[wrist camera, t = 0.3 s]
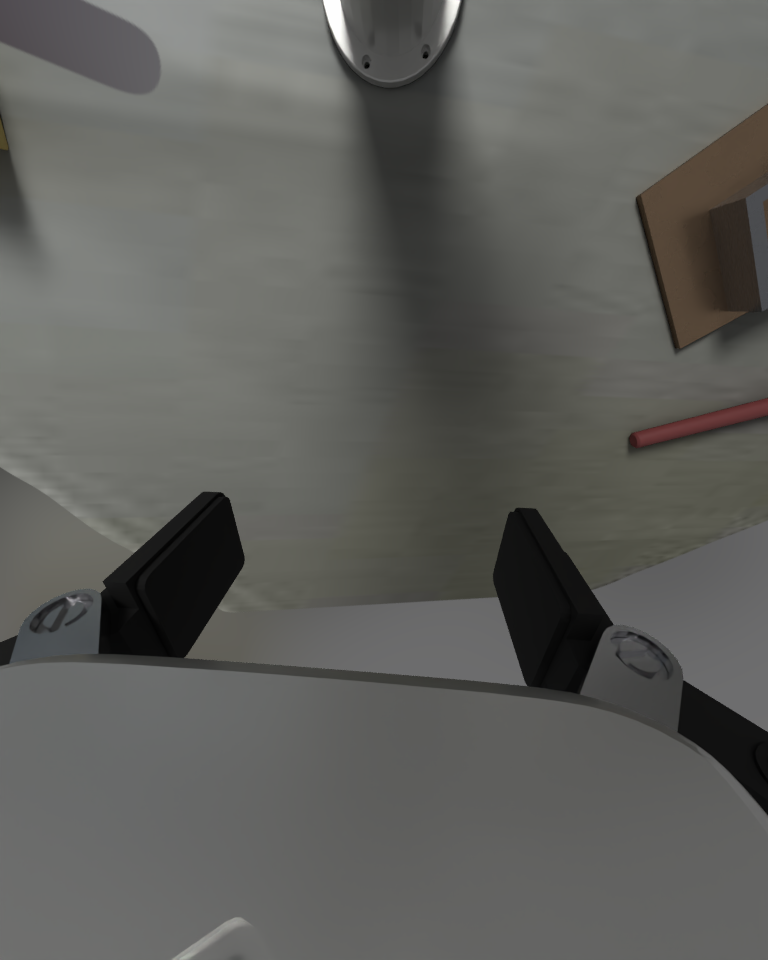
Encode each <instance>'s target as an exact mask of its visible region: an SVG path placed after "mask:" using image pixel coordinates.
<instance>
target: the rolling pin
mask: <svg viewBox="0 0 768 960" xmlns="http://www.w3.org/2000/svg"><path fill="white" fill-rule="evenodd" d="M764 416H768V398H766V399H762V400H758V401H754V402H750V403H746V404H742V405H739V406H735V407H731V408H727V409H723V410H719V411H715V412H712V413H708V414H704V415H700V416H696V417H692V418H688V419H684V420H681V421H677V422H673V423H669V424H665V425H661V426H657V427H654V428H650V429H646V430H642V431H638V432H634V433H632V434H631V435H630V438H629V439H630V443H631V445H632V446H633V447H635V448H640V447H644V446H648V445H652V444H656V443H660V442H664V441H668V440H672V439H676V438H680V437H684V436H688V435H692V434H696V433H700V432H704V431H708V430H712V429H716V428H720V427H724V426H728V425H732V424H736V423H740V422H744V421H748V420H752V419H756V418H760V417H764Z"/></svg>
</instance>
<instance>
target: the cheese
mask: <svg viewBox="0 0 768 960" xmlns="http://www.w3.org/2000/svg"><path fill="white" fill-rule="evenodd" d="M0 149H3V150H8V144H7V140H6V137H5V133H4V129H3V126H2V122H1V118H0Z"/></svg>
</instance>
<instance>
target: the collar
mask: <svg viewBox="0 0 768 960" xmlns="http://www.w3.org/2000/svg"><path fill="white" fill-rule="evenodd" d="M636 199H637V203H638V207H639V211H640V214H641V218H642V222H643V226H644V230H645V234H646V237H647V241H648V245H649V249H650V253H651V256H652V260H653V264H654V268H655V272H656V276H657V279H658V283H659V287H660V291H661V295H662V298H663V302H664V306H665V310H666V314H667V318H668V321H669V325H670V329H671V333H672V337H673V340H674V344H675V348H679V349H681V348H683V347H684V346H686V345H688V344H690V343H692V342H694V341H695V340H697V339H699V338H701V337H703V336H705V335H706V334H708V333H710V332H712V331H714V330H716V329H718V328H719V327H721V326H723V325H725V324H727V323H729V322H730V321H732V320H734V319H736V318H738V317H740V316H741V315H743V314H745V313H747V312H762V311H764V310H766V309H768V104H767V105H765V106H764V107H762V108H761V109H760V110H758V111H757V112H755V113H754V114H752V115H751V116H750V117H748V118H747V119H745V120H744V121H743V122H741V123H740V124H738V125H737V126H736V127H734V128H733V129H731V130H730V131H729V132H727V133H726V134H724V135H723V136H721V137H720V138H719V139H717V140H716V141H714V142H713V143H712V144H710V145H709V146H707V147H706V148H705V149H703V150H702V151H700V152H699V153H698V154H696V155H695V156H693V157H692V158H690V159H689V160H688V161H686V162H685V163H683V164H682V165H681V166H679V167H678V168H676V169H675V170H674V171H672V172H671V173H669V174H668V175H667V176H665V177H664V178H662V179H661V180H660V181H658V182H657V183H655V184H654V185H652V186H651V187H650V188H648V189H647V190H645V191H644V192H643V193H641V194H640V195H638V196H637V197H636Z"/></svg>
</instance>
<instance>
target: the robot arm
mask: <svg viewBox="0 0 768 960" xmlns="http://www.w3.org/2000/svg"><path fill="white" fill-rule="evenodd" d="M322 1H323V6H324V10H325V14H326V18H327V22H328V25H329V28H330V31H331V34H332V37H333V40H334V42H335V44H336V46H337V48H338V50H339V52H340V54H341V55H342V57H343V58H344V60H345V61H346V62H347V64H348V65H349V66H350V68H351V69H352V70H353V71H354V72H356V73H357V74H358V75H359V76H360V77H361V78H362V79H364V80H366V81H368V82H369V83H371V84H373V85H377V86H381V87H385V88H388V87H400V86H403V85H406V84H409V83H411V82H413V81H414V80H416V79H418V78H419V77H421V76H422V75H423V74H424V73H425V72H426V71H427V70H428V69H430V68H431V67H432V66H433V64H434V63H435V62H436V60H437V59H438V58H439V56H440V55H441V54H442V52H443V50H444V48H445V46H446V45H447V43H448V41H449V39H450V37H451V35H452V32H453V29H454V27H455V24H456V21H457V18H458V15H459V11H460V7H461V2H462V0H322ZM424 55H427V56H428V58H427V59H424V58H423V56H424ZM366 65H369V66H370V67H369V68H368V69H365V66H366ZM244 561H245V558H244V553H243V549H242V545H241V542H240V538H239V534H238V530H237V526H236V522H235V518H234V514H233V511H232V507H231V503H230V500H229V498H228V497H225V495H224V494H223V493H221V492H202V493H201V494H200V495H199V496H197V497H196V498H195V499H194V500H193V501H192V502H191V503H190V504H189V505H187V506H186V507H185V508H184V509H183V510H182V511H181V512H180V513H179V514H177V515H176V516H175V517H174V518H173V519H172V520H171V521H170V522H168V523H167V524H166V525H165V526H164V527H163V528H162V529H161V530H160V531H158V532H157V533H156V534H155V535H154V536H153V537H152V538H151V539H150V540H148V541H147V542H146V543H145V544H144V545H143V546H142V547H141V548H139V549H138V550H137V551H136V552H135V553H134V554H133V555H132V556H131V557H130V558H128V559H127V560H126V561H125V562H124V563H123V564H122V565H121V566H119V567H118V568H117V569H116V570H115V571H114V572H113V573H112V574H110V575H109V576H108V577H107V578H106V579H105V580H104V581H103V583H104V585H105V587H106V589H105V590H103V591H102V592H101V593H99V592H98V591H96V590H93V589H80V590H75V591H71V592H68V593H65V594H62V595H60V596H58V597H55V598H53V599H51V600H50V601H48V602H46V603H44V604H42V605H41V606H40V607H38V608H37V609H36V610H35V611H33V612H32V613H31V614H30V615H29V616H28V617H27V618H26V619H25V620H24V622H23V624H22V626H21V627H20V630H19V633H18V635H17V636H15V637H12V638H10V639H7V640H5V641H3V642H0V960H768V732H767V731H765V730H763V729H762V728H760V727H758V726H757V725H755V724H754V723H752V722H750V721H749V720H747V719H746V718H744V717H742V716H741V715H739V714H737V713H736V712H734V711H732V710H731V709H729V708H728V707H726V706H724V705H723V704H721V703H720V702H718V701H716V700H715V699H713V698H711V697H710V696H708V695H707V694H705V693H703V692H702V691H700V690H699V689H697V688H695V687H694V686H692V685H690V684H689V683H687V682H686V681H684V680H683V672H682V668H681V666H680V664H679V662H678V660H677V659H676V657H674V655H673V654H672V653H671V652H670V650H669V649H668V648H666V647H665V646H664V645H663V644H662V643H661V642H659V641H658V640H657V639H655V638H654V637H652V636H650V635H649V634H647V633H645V632H643V631H641V630H638V629H636V628H633V627H629V626H625V625H613V623H612V621H611V620H610V618H609V617H608V615H607V614H606V612H605V611H604V609H603V608H602V606H601V605H600V603H599V602H598V600H597V599H596V597H595V595H594V594H593V592H592V591H591V589H590V588H589V586H588V585H587V583H586V582H585V580H584V579H583V577H582V576H581V574H580V572H579V571H578V569H577V568H576V566H575V565H574V563H573V562H572V560H571V559H570V557H569V556H568V555H567V553H566V552H564V551H563V550H562V548H561V546H560V545H559V543H558V542H557V540H556V539H555V537H554V536H553V534H552V532H551V531H550V529H549V528H548V526H547V525H546V523H545V522H544V520H543V519H542V517H541V515H540V514H539V512H538V511H537V510H536V509H532V508H516V509H515V511H514V512H510V513H509V514H508V518H507V522H506V526H505V530H504V533H503V537H502V541H501V545H500V549H499V553H498V557H497V561H496V565H495V568H494V573H493V581H494V585H495V588H496V591H497V595H498V598H499V601H500V604H501V607H502V611H503V613H504V617H505V620H506V623H507V626H508V629H509V632H510V636H511V639H512V642H513V645H514V648H515V652H516V655H517V658H518V661H519V664H520V668H521V671H522V674H523V677H524V680H525V682H526V684H527V686H519V685H508V684H499V683H488V682H478V681H468V680H455V679H444V678H432V677H420V676H409V675H397V674H396V675H395V674H385V673H373V672H359V671H346V670H334V669H322V668H309V667H296V666H282V665H270V664H256V663H242V662H229V661H215V660H202V659H201V660H200V659H188V658H184V657H185V656H186V655H187V654H188V652H189V651H190V649H191V648H192V646H193V645H194V643H195V642H196V640H197V638H198V637H199V635H200V634H201V632H202V630H203V629H204V627H205V626H206V624H207V623H208V621H209V619H210V618H211V616H212V615H213V613H214V612H215V610H216V608H217V607H218V605H219V604H220V602H221V601H222V599H223V597H224V596H225V594H226V593H227V591H228V590H229V588H230V586H231V585H232V583H233V582H234V580H235V579H236V577H237V575H238V574H239V572H240V571H241V569H242V567H243V565H244ZM528 686H529V687H528Z"/></svg>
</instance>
